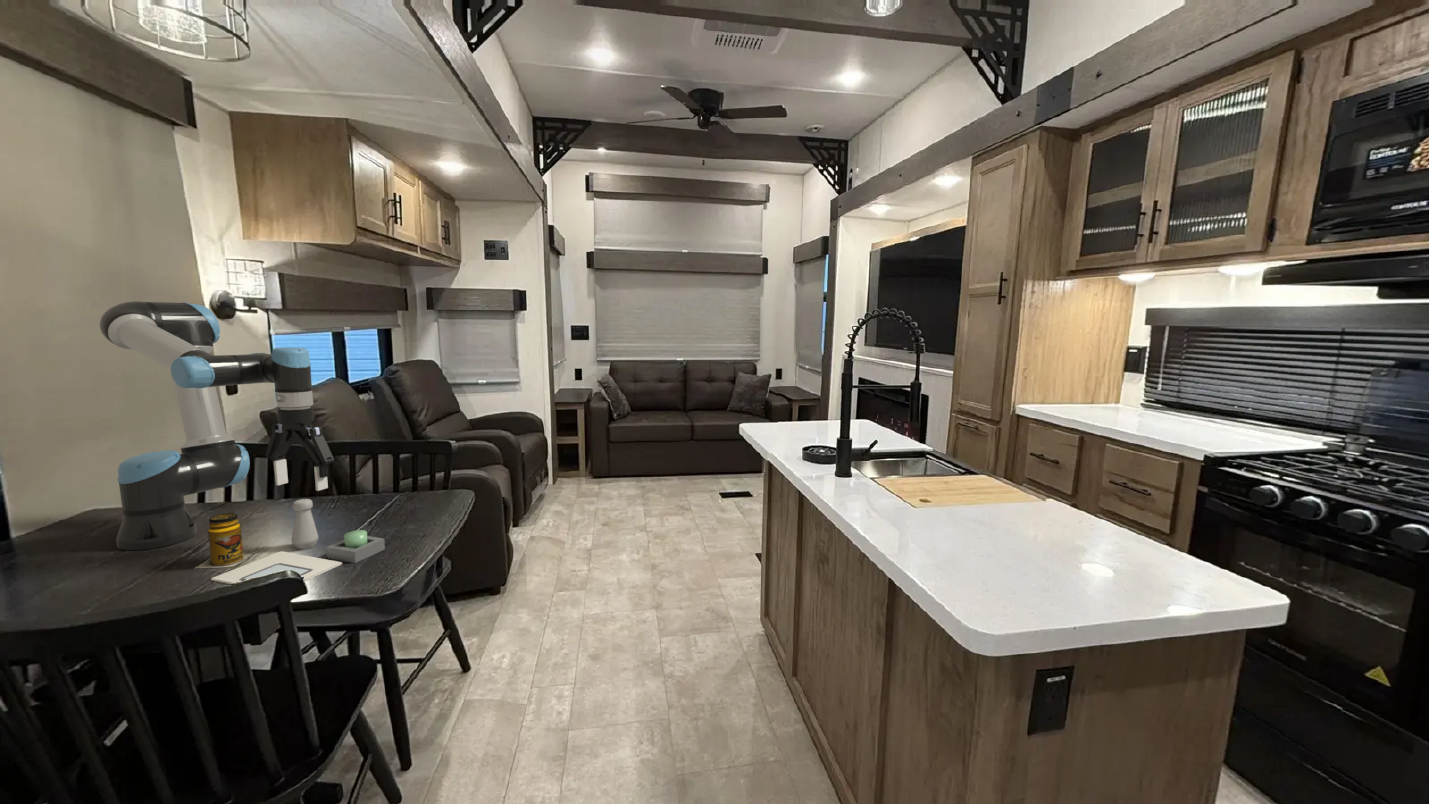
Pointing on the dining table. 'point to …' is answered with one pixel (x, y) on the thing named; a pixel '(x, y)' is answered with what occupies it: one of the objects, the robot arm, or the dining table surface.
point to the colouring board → (279, 567)
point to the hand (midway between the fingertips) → (301, 486)
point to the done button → (355, 539)
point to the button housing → (355, 550)
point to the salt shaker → (304, 525)
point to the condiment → (224, 542)
